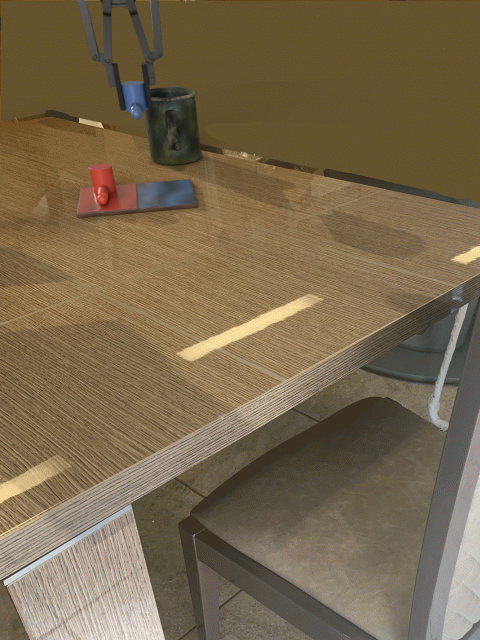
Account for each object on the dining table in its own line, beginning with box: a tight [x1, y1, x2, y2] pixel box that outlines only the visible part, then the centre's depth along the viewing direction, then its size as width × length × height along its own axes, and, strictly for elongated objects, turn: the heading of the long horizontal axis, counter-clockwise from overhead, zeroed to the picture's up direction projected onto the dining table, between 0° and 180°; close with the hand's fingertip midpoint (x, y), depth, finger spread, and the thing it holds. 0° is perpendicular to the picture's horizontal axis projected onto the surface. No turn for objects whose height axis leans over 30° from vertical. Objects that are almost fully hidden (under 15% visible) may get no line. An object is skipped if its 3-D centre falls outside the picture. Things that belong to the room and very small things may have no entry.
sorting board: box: [76, 178, 199, 219], centre depth 109 cm, size 19×14×1 cm
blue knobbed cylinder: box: [121, 80, 148, 121], centre depth 103 cm, size 10×4×4 cm, turn 14°
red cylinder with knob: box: [88, 162, 117, 205], centre depth 107 cm, size 10×4×4 cm, turn 13°
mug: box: [142, 86, 202, 166], centre depth 124 cm, size 11×15×12 cm
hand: (136, 107), depth 107 cm, fingers closed on blue knobbed cylinder, 4 cm apart
